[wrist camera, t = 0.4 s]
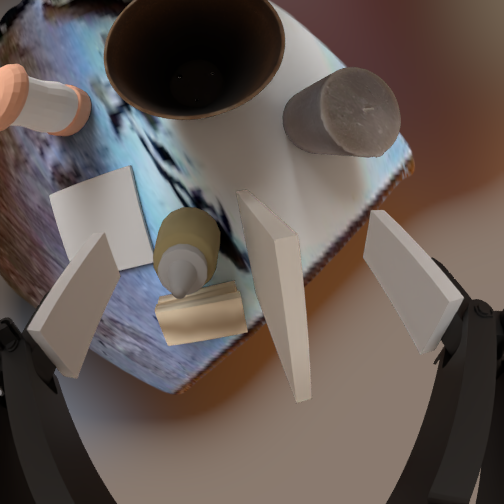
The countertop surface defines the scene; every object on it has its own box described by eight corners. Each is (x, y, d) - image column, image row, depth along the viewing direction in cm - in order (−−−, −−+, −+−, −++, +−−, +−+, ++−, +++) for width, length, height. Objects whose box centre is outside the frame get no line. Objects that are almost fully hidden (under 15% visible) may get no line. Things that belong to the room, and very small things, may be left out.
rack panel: (235, 191, 36) (273, 240, 16) (246, 189, 37) (298, 234, 16) (255, 292, 42) (296, 403, 22) (265, 290, 42) (311, 398, 22)
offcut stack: (156, 294, 40) (151, 313, 35) (236, 277, 41) (240, 294, 36) (170, 328, 42) (167, 349, 37) (244, 313, 43) (249, 332, 38)
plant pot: (255, 40, 29) (285, -18, 14) (251, 136, 34) (283, 122, 19) (149, 41, 27) (120, -16, 12) (140, 137, 32) (95, 127, 17)
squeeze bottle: (152, 237, 37) (114, 302, 20) (183, 190, 35) (162, 222, 19) (198, 267, 39) (195, 347, 23) (230, 223, 38) (250, 280, 21)
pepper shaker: (82, 79, 27) (6, 42, 9) (98, 117, 29) (17, 95, 12) (46, 108, 27) (-39, 96, 9) (60, 145, 29) (-29, 151, 12)
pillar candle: (324, 81, 32) (380, 52, 19) (355, 137, 36) (421, 136, 22) (268, 108, 33) (304, 81, 19) (303, 166, 37) (356, 176, 23)
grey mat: (52, 194, 32) (49, 195, 31) (131, 165, 33) (129, 165, 32) (79, 278, 37) (77, 280, 36) (156, 259, 38) (155, 262, 37)
